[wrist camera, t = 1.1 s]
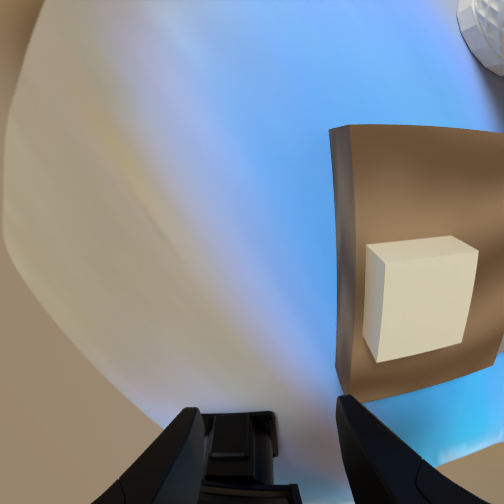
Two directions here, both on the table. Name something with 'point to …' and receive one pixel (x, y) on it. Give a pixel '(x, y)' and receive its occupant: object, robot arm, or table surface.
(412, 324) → the tile
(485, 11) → the white cup
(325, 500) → the table surface
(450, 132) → the plate
